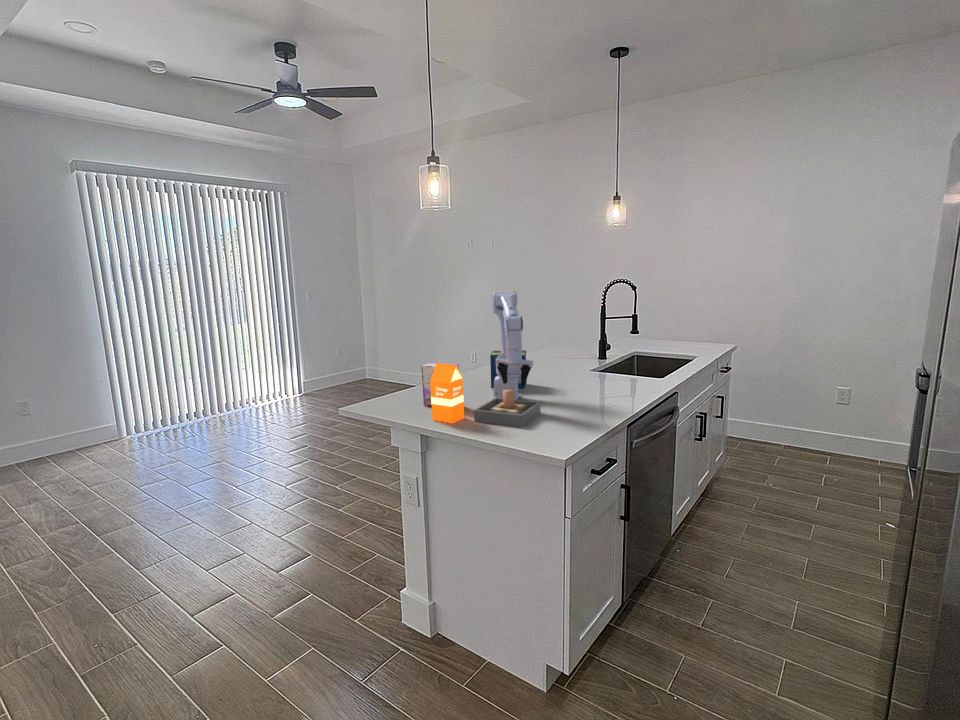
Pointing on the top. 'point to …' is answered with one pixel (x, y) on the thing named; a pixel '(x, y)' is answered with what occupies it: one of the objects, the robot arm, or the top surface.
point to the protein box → (493, 368)
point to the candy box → (428, 381)
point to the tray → (505, 418)
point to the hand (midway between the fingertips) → (514, 384)
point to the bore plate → (517, 409)
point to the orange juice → (447, 393)
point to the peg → (508, 399)
